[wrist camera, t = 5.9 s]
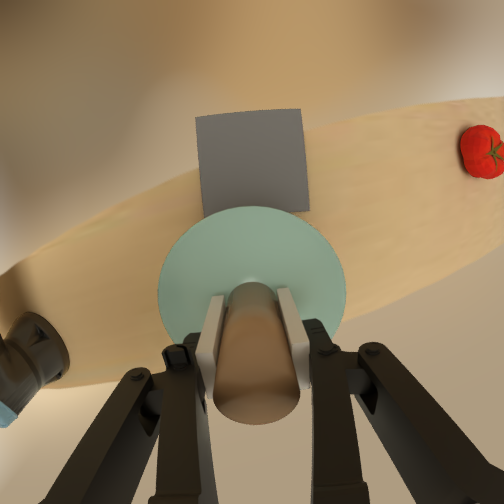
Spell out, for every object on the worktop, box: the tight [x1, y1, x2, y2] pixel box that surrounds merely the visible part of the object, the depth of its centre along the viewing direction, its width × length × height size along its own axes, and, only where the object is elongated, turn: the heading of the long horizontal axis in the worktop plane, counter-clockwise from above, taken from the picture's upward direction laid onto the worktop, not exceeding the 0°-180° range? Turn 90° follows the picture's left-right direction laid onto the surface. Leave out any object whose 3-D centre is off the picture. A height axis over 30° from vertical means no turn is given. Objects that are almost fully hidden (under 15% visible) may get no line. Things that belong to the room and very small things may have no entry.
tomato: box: [460, 125, 504, 179], centre depth 31 cm, size 9×9×8 cm
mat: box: [195, 109, 310, 218], centre depth 35 cm, size 14×14×1 cm
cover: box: [158, 205, 346, 425], centre depth 15 cm, size 13×13×10 cm
